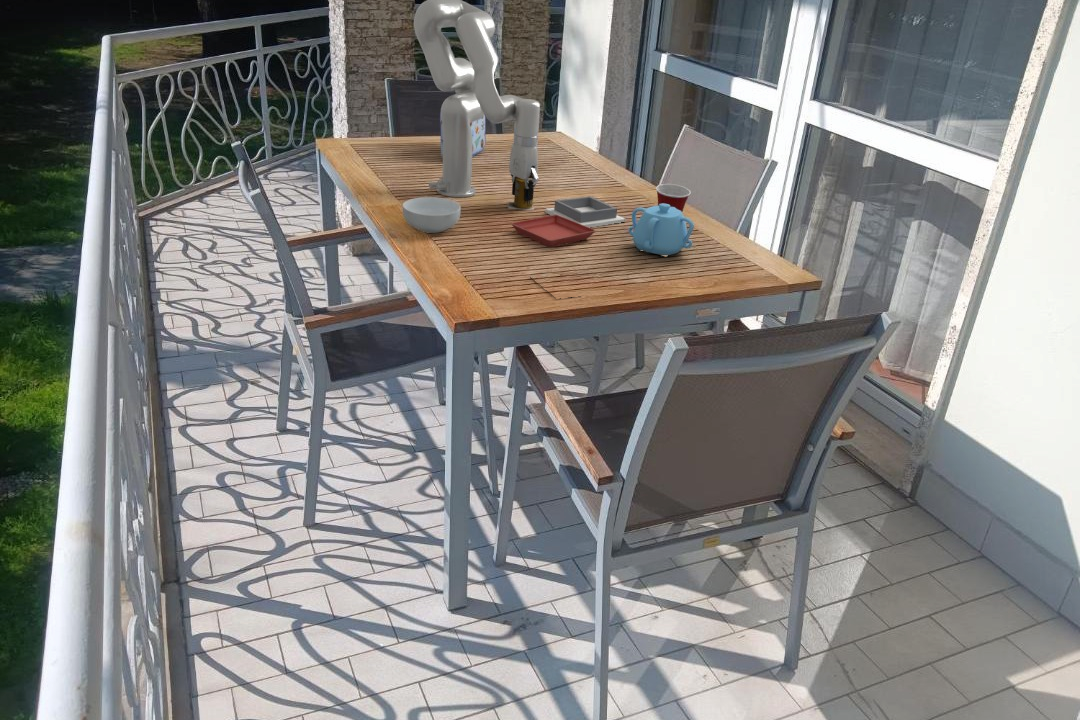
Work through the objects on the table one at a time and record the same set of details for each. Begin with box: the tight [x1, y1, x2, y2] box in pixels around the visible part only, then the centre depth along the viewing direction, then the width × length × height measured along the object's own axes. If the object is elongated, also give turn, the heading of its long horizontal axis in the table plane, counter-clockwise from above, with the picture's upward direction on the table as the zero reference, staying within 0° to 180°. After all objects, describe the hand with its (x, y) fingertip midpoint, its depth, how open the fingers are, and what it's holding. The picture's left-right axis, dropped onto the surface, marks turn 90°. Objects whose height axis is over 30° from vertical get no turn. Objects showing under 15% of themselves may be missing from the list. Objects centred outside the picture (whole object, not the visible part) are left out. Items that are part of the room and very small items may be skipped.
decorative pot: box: [628, 203, 695, 256], centre depth 246 cm, size 16×16×14 cm
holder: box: [545, 195, 626, 228], centre depth 271 cm, size 18×18×4 cm
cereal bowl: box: [401, 196, 461, 234], centre depth 250 cm, size 17×17×7 cm
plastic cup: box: [655, 183, 692, 213], centre depth 268 cm, size 11×11×12 cm
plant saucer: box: [511, 215, 596, 248], centre depth 253 cm, size 18×18×3 cm
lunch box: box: [439, 111, 487, 159], centre depth 325 cm, size 28×10×22 cm, turn 162°
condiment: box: [506, 176, 535, 211], centre depth 275 cm, size 7×8×12 cm
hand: (522, 196), depth 276 cm, fingers closed on condiment, 6 cm apart
